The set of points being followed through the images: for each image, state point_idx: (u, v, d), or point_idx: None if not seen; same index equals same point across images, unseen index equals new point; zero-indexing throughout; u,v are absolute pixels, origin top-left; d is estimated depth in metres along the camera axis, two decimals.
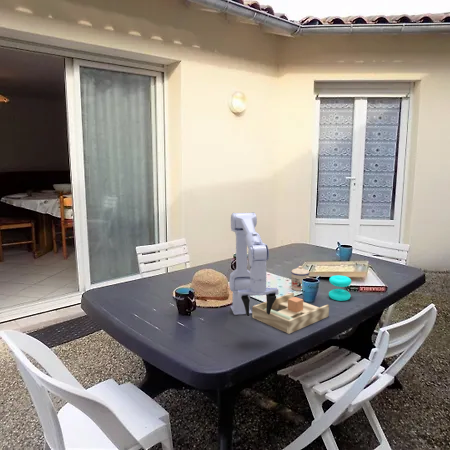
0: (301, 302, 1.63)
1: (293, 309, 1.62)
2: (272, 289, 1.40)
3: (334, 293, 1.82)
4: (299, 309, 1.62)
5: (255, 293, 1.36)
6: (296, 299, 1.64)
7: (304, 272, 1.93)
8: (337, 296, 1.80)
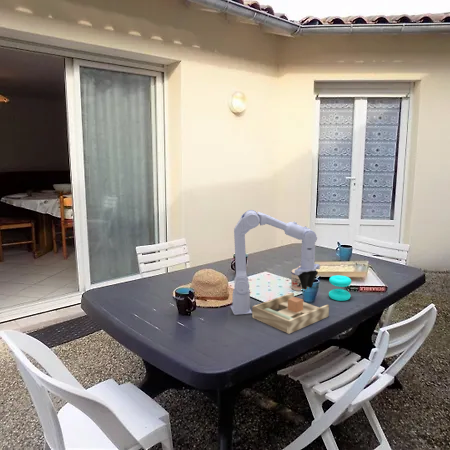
0: (301, 302, 1.63)
1: (293, 309, 1.62)
2: (315, 265, 1.69)
3: (334, 293, 1.82)
4: (299, 309, 1.62)
5: (309, 270, 1.63)
6: (296, 299, 1.64)
7: None
8: (337, 296, 1.80)
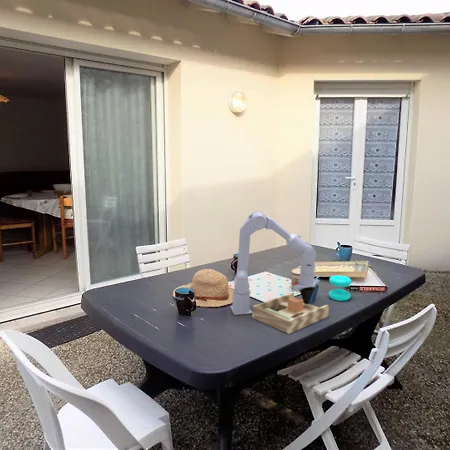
0: (301, 302, 1.63)
1: (293, 309, 1.62)
2: (314, 280, 1.70)
3: (334, 293, 1.82)
4: (299, 309, 1.62)
5: (309, 286, 1.64)
6: (296, 299, 1.64)
7: None
8: (337, 296, 1.80)
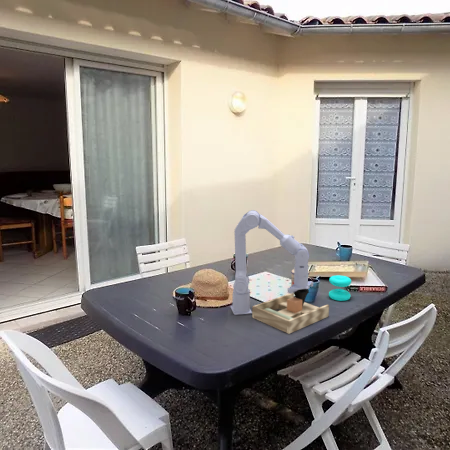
0: (300, 302, 1.62)
1: (292, 309, 1.62)
2: (309, 282, 1.68)
3: (334, 293, 1.82)
4: (298, 309, 1.62)
5: (303, 288, 1.62)
6: (295, 299, 1.63)
7: None
8: (337, 296, 1.80)
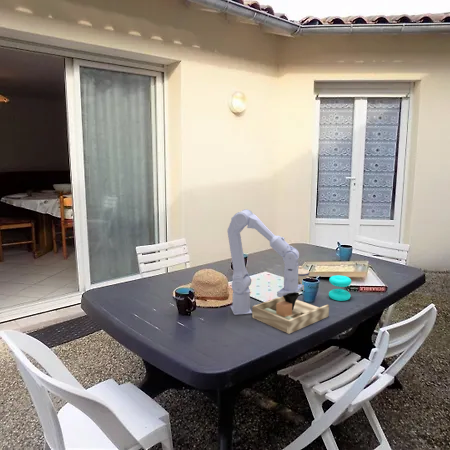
0: (290, 306, 1.58)
1: (282, 314, 1.57)
2: (299, 286, 1.64)
3: (334, 293, 1.82)
4: (288, 313, 1.58)
5: (293, 291, 1.57)
6: (285, 303, 1.59)
7: (304, 272, 1.93)
8: (337, 296, 1.80)
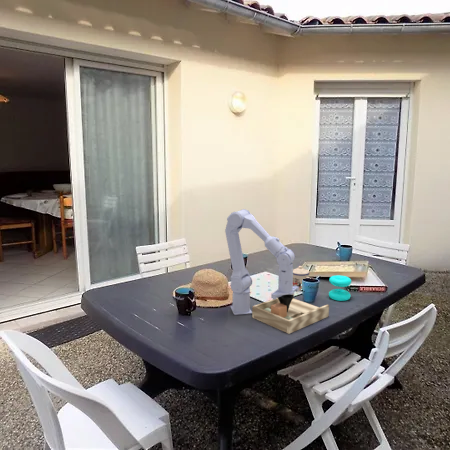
0: (284, 308, 1.56)
1: None
2: (294, 287, 1.61)
3: (334, 293, 1.82)
4: (282, 316, 1.56)
5: (287, 293, 1.55)
6: (280, 305, 1.57)
7: (304, 272, 1.93)
8: (337, 296, 1.80)
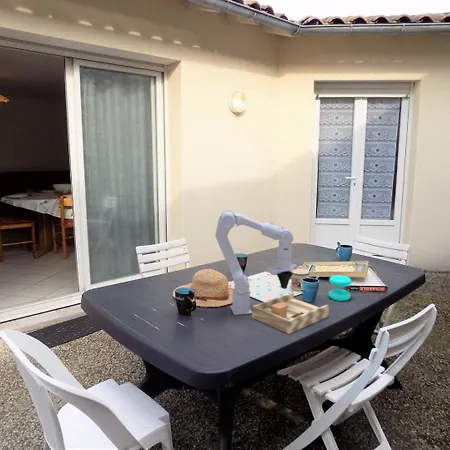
0: (284, 308, 1.56)
1: None
2: (293, 265, 1.69)
3: (334, 293, 1.82)
4: (282, 316, 1.56)
5: (286, 270, 1.63)
6: (280, 305, 1.57)
7: (304, 272, 1.93)
8: (337, 296, 1.80)
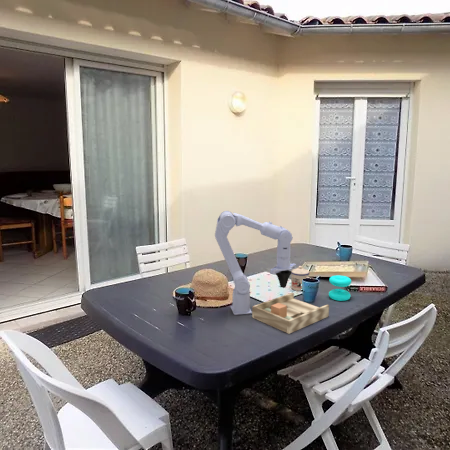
0: (284, 308, 1.56)
1: None
2: (291, 264, 1.70)
3: (334, 293, 1.82)
4: (282, 316, 1.56)
5: (285, 269, 1.64)
6: (280, 305, 1.57)
7: (304, 272, 1.93)
8: (337, 296, 1.80)
